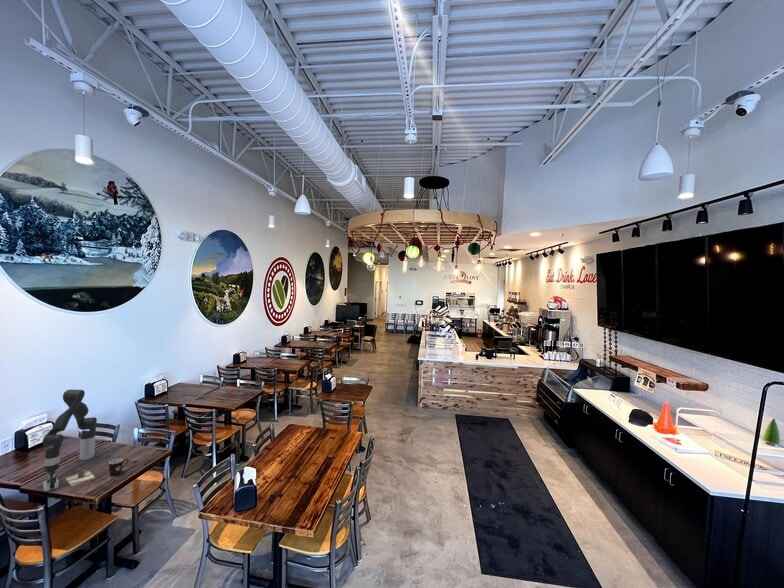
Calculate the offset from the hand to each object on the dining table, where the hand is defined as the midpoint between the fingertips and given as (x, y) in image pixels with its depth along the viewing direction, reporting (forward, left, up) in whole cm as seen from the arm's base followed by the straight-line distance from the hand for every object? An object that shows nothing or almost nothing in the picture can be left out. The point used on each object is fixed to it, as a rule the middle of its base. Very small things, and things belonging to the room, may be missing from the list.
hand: (50, 486), depth 231 cm
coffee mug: (+14, +34, -1) cm, 37 cm away
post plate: (+2, +15, -1) cm, 15 cm away
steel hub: (0, 0, -1) cm, 1 cm away
